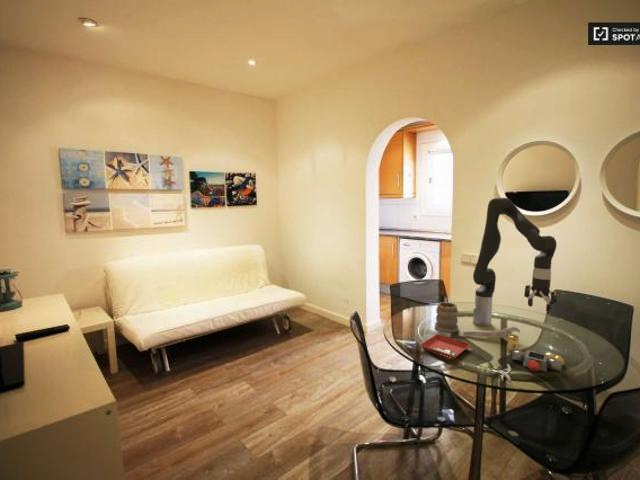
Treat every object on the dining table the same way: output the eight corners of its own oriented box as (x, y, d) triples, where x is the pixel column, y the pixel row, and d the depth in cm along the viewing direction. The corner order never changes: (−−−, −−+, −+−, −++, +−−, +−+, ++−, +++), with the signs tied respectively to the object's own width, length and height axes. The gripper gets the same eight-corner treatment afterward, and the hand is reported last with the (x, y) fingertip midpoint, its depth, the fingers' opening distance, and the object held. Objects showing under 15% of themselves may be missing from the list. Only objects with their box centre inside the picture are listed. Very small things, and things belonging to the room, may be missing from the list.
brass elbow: (543, 358, 165) (546, 364, 160) (543, 351, 164) (547, 357, 159) (560, 360, 163) (564, 366, 157) (560, 353, 162) (564, 359, 157)
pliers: (508, 362, 160) (519, 379, 145) (508, 365, 160) (519, 383, 146) (485, 360, 162) (493, 377, 148) (485, 363, 162) (493, 380, 148)
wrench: (459, 339, 194) (520, 341, 183) (459, 341, 192) (521, 342, 181) (457, 325, 193) (519, 326, 182) (457, 327, 191) (520, 327, 180)
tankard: (458, 333, 195) (459, 307, 193) (434, 331, 199) (435, 305, 197) (457, 320, 213) (458, 296, 211) (435, 318, 218) (435, 295, 215)
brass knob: (505, 352, 172) (506, 336, 171) (507, 348, 176) (508, 333, 175) (516, 354, 169) (517, 339, 168) (518, 351, 173) (519, 335, 172)
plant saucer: (470, 349, 176) (470, 343, 176) (455, 362, 163) (455, 356, 163) (436, 339, 189) (436, 333, 188) (419, 350, 176) (419, 344, 176)
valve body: (508, 366, 159) (509, 355, 158) (514, 355, 169) (514, 345, 168) (559, 379, 147) (560, 368, 146) (561, 366, 157) (562, 356, 156)
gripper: (522, 274, 175) (520, 305, 177) (552, 281, 162) (549, 314, 165) (531, 272, 178) (529, 303, 181) (561, 278, 166) (558, 311, 168)
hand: (539, 308), depth 173 cm, fingers open, 8 cm apart
